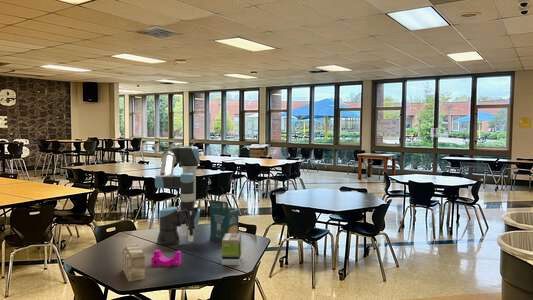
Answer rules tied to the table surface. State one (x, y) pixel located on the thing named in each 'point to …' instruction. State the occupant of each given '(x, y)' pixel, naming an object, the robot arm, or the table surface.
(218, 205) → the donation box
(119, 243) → the table surface
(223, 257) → the tea box
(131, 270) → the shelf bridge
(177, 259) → the toy block
